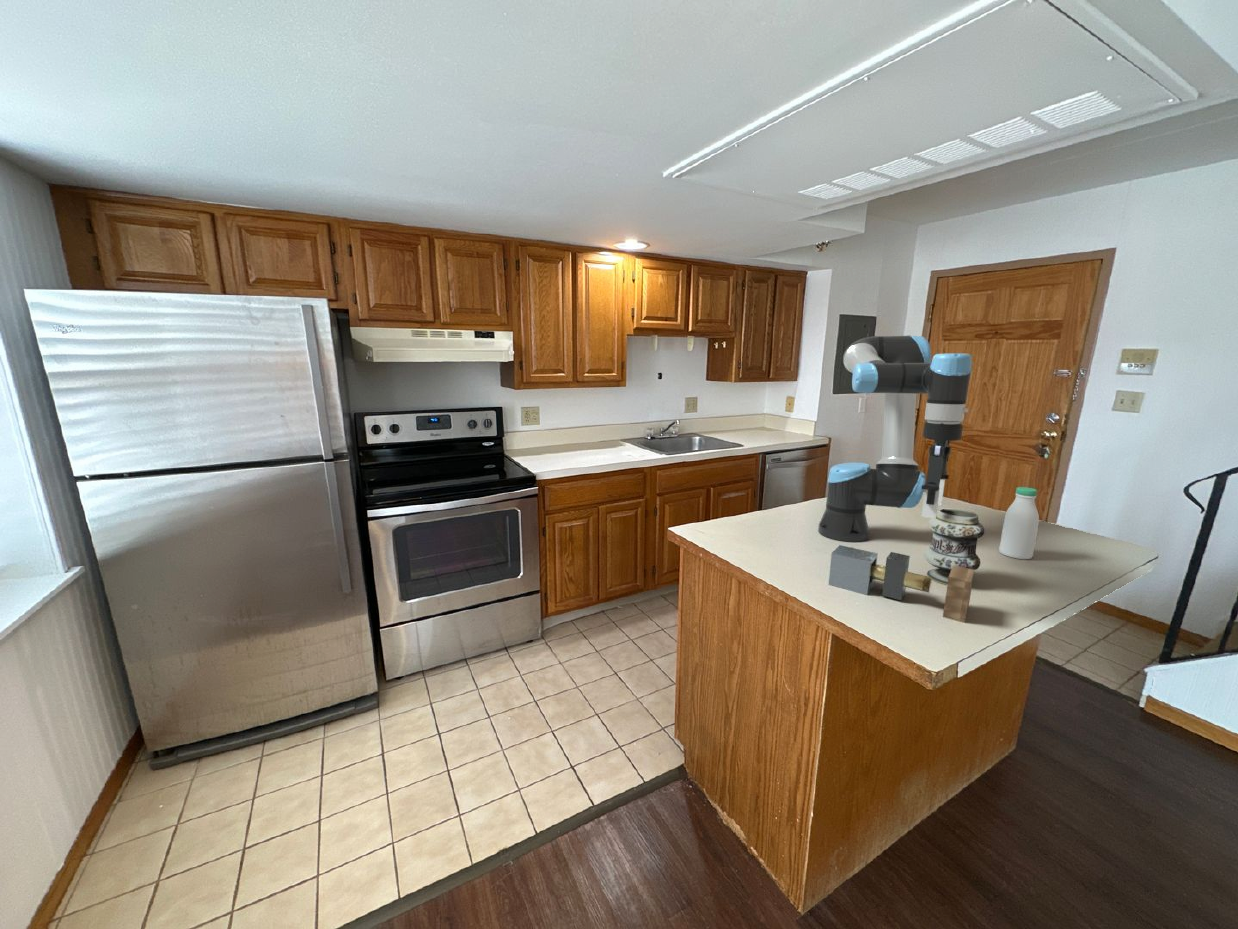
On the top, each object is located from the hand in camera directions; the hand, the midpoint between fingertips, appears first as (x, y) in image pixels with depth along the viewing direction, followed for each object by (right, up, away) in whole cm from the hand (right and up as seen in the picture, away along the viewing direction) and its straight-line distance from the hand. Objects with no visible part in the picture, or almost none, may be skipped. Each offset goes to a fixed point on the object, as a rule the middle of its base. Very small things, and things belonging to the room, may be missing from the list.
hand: (931, 510), depth 116 cm
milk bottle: (+41, -16, +26) cm, 51 cm away
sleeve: (-16, -19, +7) cm, 26 cm away
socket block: (+1, -22, -7) cm, 23 cm away
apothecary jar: (+11, -19, +11) cm, 24 cm away
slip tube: (-11, -20, +3) cm, 23 cm away
